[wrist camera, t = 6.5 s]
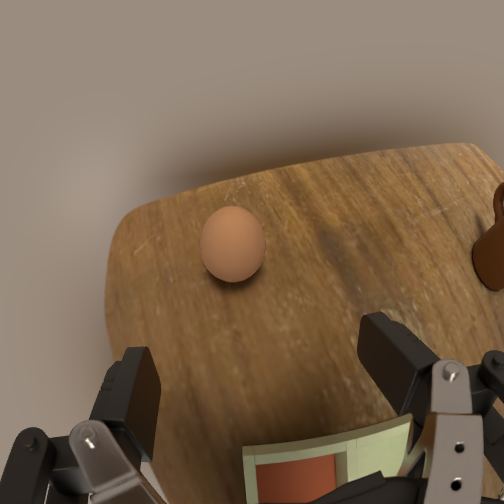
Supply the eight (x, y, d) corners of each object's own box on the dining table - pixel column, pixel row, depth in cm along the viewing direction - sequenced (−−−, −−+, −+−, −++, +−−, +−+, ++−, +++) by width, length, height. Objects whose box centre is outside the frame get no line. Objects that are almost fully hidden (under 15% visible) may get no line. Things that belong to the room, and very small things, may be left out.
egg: (209, 298, 24) (196, 257, 17) (201, 246, 26) (189, 192, 19) (267, 287, 25) (279, 243, 18) (255, 237, 27) (260, 182, 20)
